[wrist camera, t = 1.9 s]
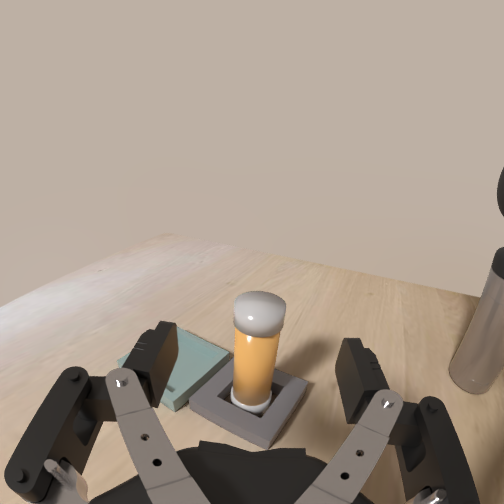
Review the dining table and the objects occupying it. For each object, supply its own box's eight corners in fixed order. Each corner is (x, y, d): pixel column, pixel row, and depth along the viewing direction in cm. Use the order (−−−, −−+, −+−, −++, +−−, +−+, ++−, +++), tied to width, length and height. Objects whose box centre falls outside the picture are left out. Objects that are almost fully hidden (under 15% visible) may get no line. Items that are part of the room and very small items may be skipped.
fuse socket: (237, 363, 36) (237, 353, 35) (305, 392, 32) (308, 381, 31) (190, 409, 28) (188, 398, 27) (267, 450, 23) (269, 441, 23)
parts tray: (174, 335, 41) (173, 324, 40) (229, 362, 36) (229, 352, 36) (120, 371, 32) (116, 360, 31) (175, 412, 27) (172, 401, 26)
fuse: (243, 383, 33) (251, 286, 28) (276, 398, 31) (294, 300, 26) (222, 406, 29) (223, 306, 24) (257, 423, 27) (271, 324, 22)
